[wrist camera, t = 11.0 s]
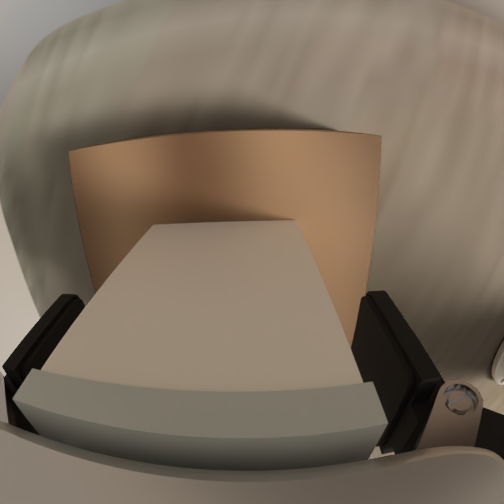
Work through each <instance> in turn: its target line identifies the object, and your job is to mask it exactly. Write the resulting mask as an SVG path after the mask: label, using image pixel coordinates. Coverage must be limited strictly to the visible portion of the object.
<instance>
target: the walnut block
mask: <svg viewBox="0 0 504 504" xmlns="http://www.w3.org/2000/svg"><path fill="white" fill-rule="evenodd" d="M381 137H382V136H379V135H371V134H363V133H355V132H346V131H334V130H313V129H238V130H216V131H201V132H188V133H177V134H167V135H157V136H149V137H141V138H134V139H127V140H120V141H115V142H110V143H104V144H99V145H95V146H90V147H85V148H81V149H76V150H72V151H68V152H69V162H70V170H71V178H72V185H73V192H74V199H75V205H76V211H77V216H78V221H79V227H80V232H81V236H82V241H83V246H84V250H85V254H86V259H87V263H88V267H89V271H90V274H91V278H92V282H93V286H94V289H95V293H96V292H97V291H98V290H99V289H100V287H101V286H102V285H103V284H104V282H105V281H106V280H107V279H108V277H109V276H110V275H111V274H112V272H113V271H114V270H115V269H116V268H117V266H118V265H119V264H120V263H121V261H122V260H123V259H124V258H125V257H126V256H127V254H128V253H129V252H130V251H131V250H132V248H133V247H134V246H135V245H136V244H137V243H138V242H139V240H140V239H141V238H142V237H143V236H144V235H145V234H146V232H147V231H148V230H149V229H150V228H151V227H152V226H153V225H157V224H178V223H203V222H233V221H272V220H297V222H298V224H299V227H300V229H301V231H302V233H303V236H304V238H305V240H306V242H307V245H308V247H309V249H310V251H311V254H312V256H313V258H314V260H315V263H316V265H317V267H318V270H319V272H320V274H321V277H322V279H323V281H324V284H325V286H326V289H327V291H328V293H329V296H330V298H331V301H332V303H333V306H334V308H335V310H336V313H337V315H338V318H339V320H340V323H341V325H342V328H343V330H344V333H345V336H346V338H347V341H348V343H349V346H350V348H351V346H352V341H353V336H354V332H355V327H356V322H357V317H358V311H359V306H360V301H361V298H362V297H363V296H365V293H366V287H367V281H368V275H369V268H370V262H371V255H372V248H373V240H374V232H375V223H376V214H377V203H378V192H379V179H380V162H381Z"/></svg>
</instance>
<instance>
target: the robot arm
mask: <svg viewBox="0 0 504 504" xmlns="http://www.w3.org/2000/svg"><path fill="white" fill-rule="evenodd" d="M84 308H85V306H84V303H83V301H82V299H80V298H79V297H78V295H74V294H62V295H61V296H60V297H59V298H58V299H57V300H56V301H55V302H54V303H53V305H52V306H51V307H50V308H49V309H48V310H47V311H46V313H45V314H44V315H43V316H42V317H41V318H40V320H39V321H38V322H37V323H36V324H35V325H34V327H33V328H32V329H31V330H30V331H29V333H28V334H27V335H26V336H25V338H24V339H23V340H22V341H21V343H20V344H19V345H18V346H17V348H16V349H15V350H14V352H13V353H12V354H11V355H10V357H9V358H8V359H7V361H6V362H5V363H4V365H3V366H2V367H3V369H4V370H5V372H6V376H5V377H4V376H3V375H2V373H1V372H0V504H504V415H502V414H499V413H497V412H494V411H491V410H489V409H486V408H483V399H482V396H481V393H480V392H479V391H478V389H477V388H476V387H474V386H473V385H472V384H470V383H468V382H466V381H462V380H451V381H449V382H446V383H445V382H444V380H443V378H442V377H441V375H440V373H439V372H438V370H437V368H436V367H435V365H434V364H433V362H432V360H431V359H430V357H429V355H428V354H427V352H426V351H425V349H424V347H423V346H422V344H421V343H420V341H419V340H418V338H417V336H416V335H415V333H414V332H413V331H412V329H411V328H410V326H409V325H408V323H407V322H406V320H405V319H404V317H403V316H402V314H401V313H400V311H399V310H398V308H397V307H396V306H395V304H394V303H393V301H392V300H391V298H390V297H389V295H388V294H387V293H386V292H385V291H370V292H367V294H366V296H363V297H362V298H361V301H360V306H359V311H358V317H357V322H356V327H355V332H354V336H353V341H352V346H351V351H352V354H353V356H354V359H355V362H356V364H357V367H358V370H359V372H360V375H361V378H362V380H363V383H366V382H373V384H374V387H375V389H376V392H377V394H378V397H379V400H380V402H381V405H382V408H383V410H384V413H385V416H386V418H387V421H388V424H387V426H386V428H385V430H384V432H383V434H382V436H381V437H380V439H379V441H378V443H377V445H376V447H377V446H379V447H380V450H381V453H382V454H385V453H390V452H395V455H389V456H384V457H379V458H374V459H369V460H364V461H358V462H351V463H345V464H337V465H329V466H321V467H312V468H301V469H288V470H267V471H228V470H206V469H193V468H182V467H173V466H165V465H157V464H151V463H144V462H138V461H133V460H127V459H122V458H118V457H113V456H108V455H104V454H100V453H96V452H92V451H88V450H84V449H80V448H77V447H73V446H70V445H67V444H63V443H60V442H57V441H54V440H51V439H48V438H45V437H42V436H40V434H39V433H38V432H37V431H36V430H35V428H34V427H33V426H32V425H31V423H30V422H29V421H28V419H27V418H26V417H25V416H24V414H23V413H22V412H21V410H20V409H19V407H18V406H17V405H16V403H15V402H14V400H13V397H14V396H15V394H16V392H17V391H18V389H19V388H20V386H21V385H22V383H23V382H24V380H25V379H26V377H27V376H28V374H29V373H30V371H31V370H32V368H33V369H37V370H41V369H42V367H43V366H44V364H45V363H46V361H47V360H48V358H49V357H50V355H51V354H52V352H53V351H54V349H55V348H56V346H57V345H58V344H59V342H60V341H61V339H62V338H63V337H64V335H65V334H66V332H67V331H68V330H69V328H70V327H71V325H72V324H73V323H74V321H75V320H76V319H77V317H78V316H79V315H80V313H81V312H82V311H83V309H84ZM491 374H492V377H493V379H494V380H495V382H496V383H497V384H499V385H504V341H503V342H502V344H501V346H500V348H499V350H498V351H497V354H496V356H495V359H494V361H493V365H492V372H491Z"/></svg>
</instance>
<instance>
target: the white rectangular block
mask: <svg viewBox="0 0 504 504" xmlns="http://www.w3.org/2000/svg"><path fill="white" fill-rule="evenodd" d="M13 400H14V402H15V403H16V405H17V406H18V407H19V409H20V410H21V412H22V413H23V414H24V416H25V417H26V418H27V419H28V421H29V422H30V423H31V425H32V426H33V427H34V428H35V430H36V431H37V432H38V433H39V434H40V436H42V437H45V438H48V439H51V440H54V441H57V442H60V443H63V444H67V445H70V446H73V447H77V448H80V449H84V450H88V451H92V452H96V453H100V454H104V455H108V456H113V457H118V458H122V459H127V460H133V461H138V462H144V463H151V464H157V465H165V466H173V467H182V468H193V469H206V470H228V471H267V470H288V469H301V468H312V467H321V466H329V465H337V464H345V463H351V462H358V461H364V460H368V458H369V457H370V455H371V453H372V452H373V450H374V448H375V446H376V445H377V443H378V441H379V439H380V437H381V436H382V434H383V432H384V430H385V428H386V426H387V424H388V421H387V418H386V416H385V413H384V410H383V408H382V405H381V402H380V400H379V397H378V394H377V392H376V389H375V387H374V384H373V382H366V383H363V380H362V378H361V375H360V372H359V370H358V367H357V364H356V362H355V359H354V356H353V354H352V351H351V348H350V346H349V343H348V341H347V338H346V336H345V333H344V330H343V328H342V325H341V323H340V320H339V318H338V315H337V313H336V310H335V308H334V306H333V303H332V301H331V298H330V296H329V293H328V291H327V289H326V286H325V284H324V281H323V279H322V277H321V274H320V272H319V270H318V267H317V265H316V263H315V260H314V258H313V256H312V254H311V251H310V249H309V247H308V245H307V242H306V240H305V238H304V236H303V233H302V231H301V229H300V227H299V224H298V222H297V220H272V221H233V222H203V223H178V224H157V225H153V226H152V227H151V228H150V229H149V230H148V231H147V232H146V234H145V235H144V236H143V237H142V238H141V239H140V240H139V242H138V243H137V244H136V245H135V246H134V247H133V248H132V250H131V251H130V252H129V253H128V254H127V256H126V257H125V258H124V259H123V260H122V261H121V263H120V264H119V265H118V266H117V268H116V269H115V270H114V271H113V272H112V274H111V275H110V276H109V277H108V279H107V280H106V281H105V282H104V284H103V285H102V286H101V287H100V289H99V290H98V291H97V292H96V294H95V295H94V296H93V298H92V299H91V300H90V301H89V303H88V304H87V305H86V307H85V308H84V309H83V311H82V312H81V313H80V315H79V316H78V317H77V319H76V320H75V321H74V323H73V324H72V325H71V327H70V328H69V330H68V331H67V332H66V334H65V335H64V337H63V338H62V339H61V341H60V342H59V344H58V345H57V346H56V348H55V349H54V351H53V352H52V354H51V355H50V357H49V358H48V360H47V361H46V363H45V364H44V366H43V367H42V369H41V370H37V369H33V368H32V370H31V371H30V373H29V374H28V376H27V377H26V379H25V380H24V382H23V383H22V385H21V386H20V388H19V389H18V391H17V392H16V394H15V396H14V397H13Z"/></svg>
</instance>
